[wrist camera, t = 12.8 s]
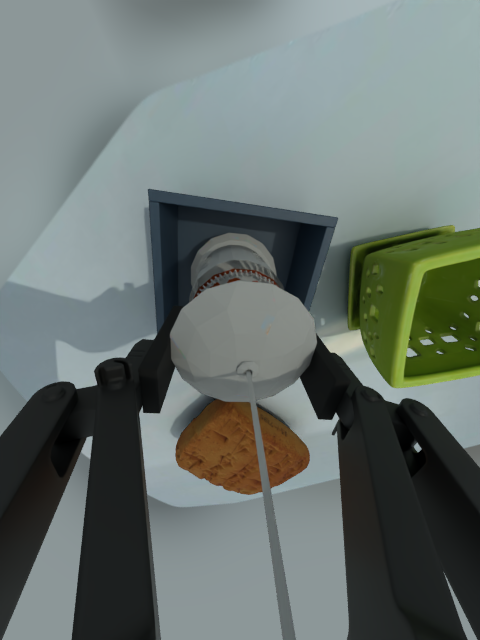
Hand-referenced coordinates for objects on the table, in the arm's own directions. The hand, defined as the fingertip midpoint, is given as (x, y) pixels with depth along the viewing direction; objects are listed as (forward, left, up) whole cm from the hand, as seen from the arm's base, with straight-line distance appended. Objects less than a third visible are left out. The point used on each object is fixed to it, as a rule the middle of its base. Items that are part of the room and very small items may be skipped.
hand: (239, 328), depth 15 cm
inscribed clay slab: (+31, +5, -14) cm, 34 cm away
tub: (0, 0, -14) cm, 14 cm away
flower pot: (-2, +21, -14) cm, 25 cm away
